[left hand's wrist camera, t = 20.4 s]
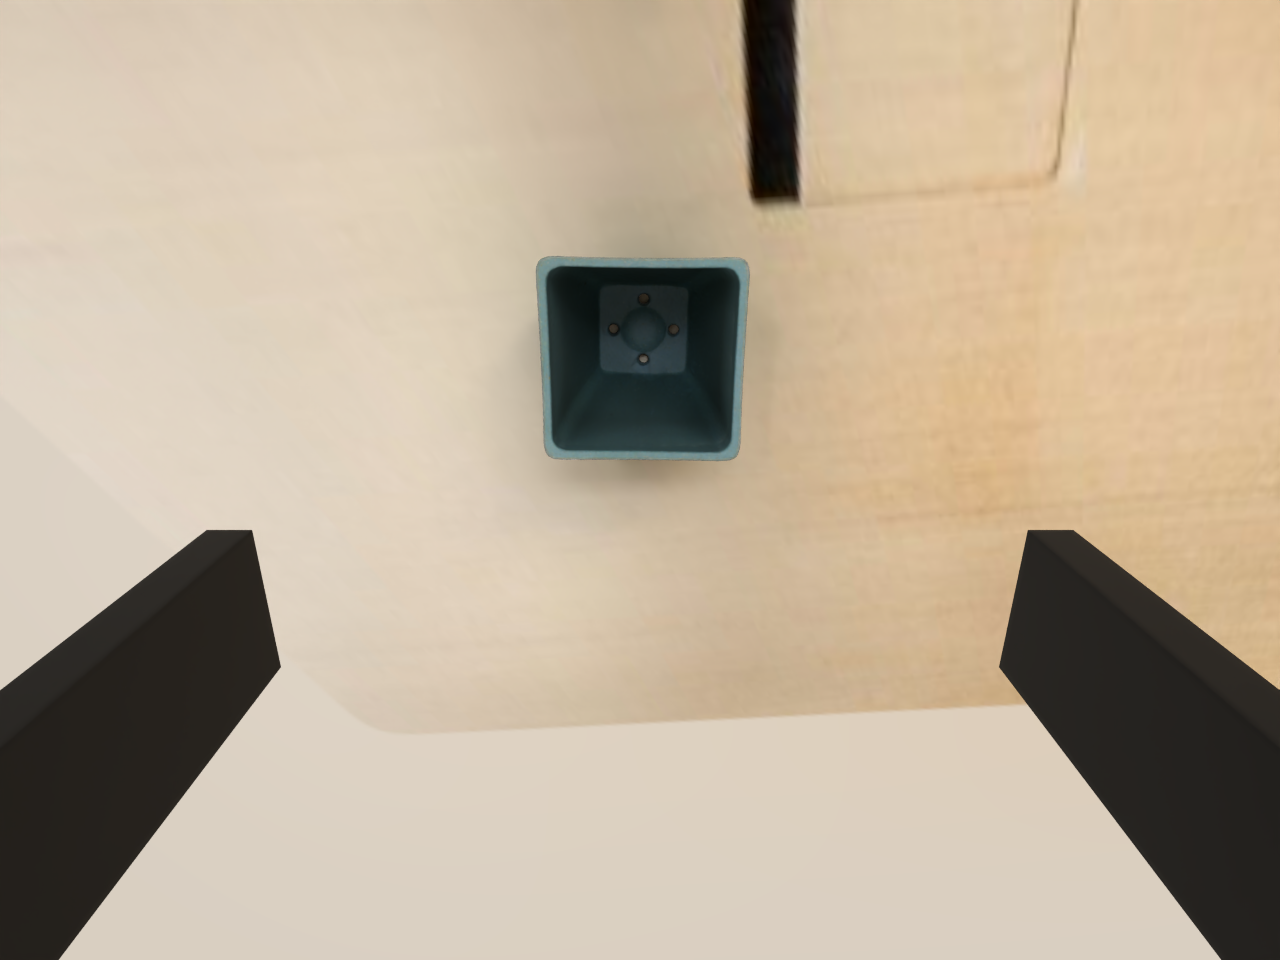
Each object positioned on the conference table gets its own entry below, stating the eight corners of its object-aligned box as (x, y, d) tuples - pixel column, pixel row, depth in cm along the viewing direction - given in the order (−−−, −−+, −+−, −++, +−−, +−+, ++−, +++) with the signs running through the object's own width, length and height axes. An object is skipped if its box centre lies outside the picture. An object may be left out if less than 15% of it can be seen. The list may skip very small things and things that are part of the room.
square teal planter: (563, 408, 41) (543, 461, 33) (557, 243, 38) (534, 256, 30) (719, 408, 41) (739, 462, 33) (726, 244, 38) (751, 257, 30)
